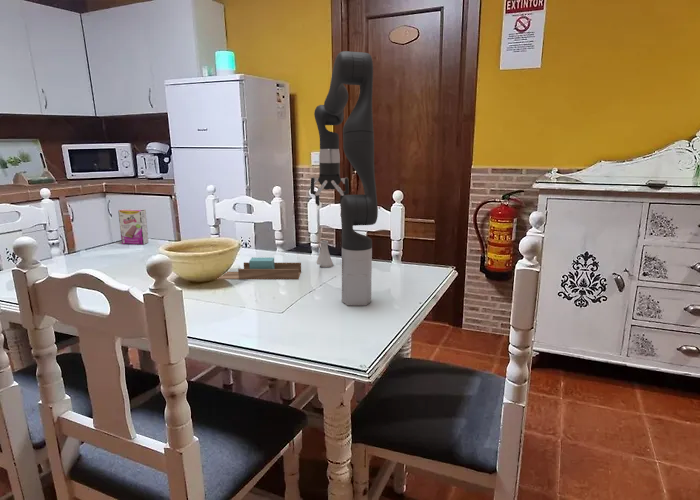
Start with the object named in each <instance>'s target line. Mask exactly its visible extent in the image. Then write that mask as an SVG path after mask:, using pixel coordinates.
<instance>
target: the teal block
mask: <svg viewBox="0 0 700 500" xmlns="http://www.w3.org/2000/svg"><path fill="white" fill-rule="evenodd" d="M248 261H249V262H248V263H249V265H250V269H274V263H275V257H251V258H250V260H248Z"/></svg>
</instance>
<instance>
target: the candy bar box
mask: <svg viewBox="0 0 700 500" xmlns="http://www.w3.org/2000/svg"><path fill="white" fill-rule="evenodd" d="M118 221H119V229H120V230H119V231H120V240H121V245H141V246H144V245H147V244H149V236H148V235H149V233H148V223H147V222H148V221H147V212H146V209H143V208H142V209H141V208H138V209H137V208H122V209H118Z"/></svg>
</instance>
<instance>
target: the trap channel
mask: <svg viewBox="0 0 700 500" xmlns="http://www.w3.org/2000/svg"><path fill="white" fill-rule="evenodd" d="M226 272H227V273H225V274H224V275H223V276H221V277H219V278H217V279H216V280H299V279H300V277H301V274H302V262H274V269H250V265H249V262H243V268H238V270H237V271H226Z"/></svg>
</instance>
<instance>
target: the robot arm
mask: <svg viewBox="0 0 700 500" xmlns="http://www.w3.org/2000/svg"><path fill="white" fill-rule="evenodd" d="M373 62H374V61H373V58H372V55H371V54H370V53H368V52H362V51H348V50H346V51H345V50H343V51H340V52H339V53H337V55H336V57H335V59H334V64H333V68H332V73H331V80H330V86H329V90H328V93H327V95H326V96H325V100H324V103H323V104H319V105H317V106H316V108H314V112H313V113H314V114H313V115H314V119H315V123H316V127H317V130H318V135H319V155H318V157H319V158H318V162H319V164H318V165H319V167H318V169H319V170H318V171H319V172H318V173H319V177H313V176H312V177H311V179H310V188H309V189H310V194H311V195H314V197H315V205H317V206H318V207H319V206H321V205H320V203H321V201H320V199H321V198H320V194H321V192H322V191H323V190H333V191H334V190H336V191H337V192H338V193H339V194H340V195H339V206H340V217H341V218H340V219H341V220H340V221H341V222H340V224H341V302H342V303H343V304H345V305H346V306H368V304H370V303H371V302H372V273H373V272H372V271H373V270H372V269H373V266H372V265H373V263H372V262H373V258H372V257H373V239H372V238H371V237H369V236H368V235H365V234H361V233H359V232H357V231H355V230H354V226H372V225H375V224H376V223H377V220H378V217H379V216H378V215H379V208H378V194H377V187H376V185H377V184H376V177H375V176H376V175H375V174H376V173H375V133H374V132H375V131H374V119H373V117H374V115H373V85H374V63H373ZM347 85H349V86H350V85H351V86H352V85H353V86H359V95H358V99H357V101H356V103H355V105H354V107H353V109H352V111H351V113H350V114H349V115H348V117H347V119H346V121H345V123H344V125H343V127H342V142H343V143H342V144H343V145H342V146H343V147H342V148H343V153H344V155H345V157H346V159H347V160H348V162H349V163H350V165H351V166H352V167H353V169H354V171H355V173H356V174H357V175H358V177H359V179H360V182H361V184H362V187H363V193H364V194H350V187H349V186H350V185H349V178H348V177H342V178H341V174H340V173H341V170H340V169H341V168H340V167H341V165H340V164H341V162H340V161H341V158H340V157H341V155H340V136H339V133H337V132H334V131H330V130H328V129H327V127H326V126H339V125H341V124H342V123H343V121H344V110H345V108H346V106H347V103H348V101H349V92H348V89H347V88H346V86H347ZM341 182H342V184H343V185H345V186H344V187H345V188H344V189H345V190H342V188H341V187H340V183H341ZM317 183H319V184H320V186H319V188H318V189H317V191H315V184H317Z"/></svg>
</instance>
